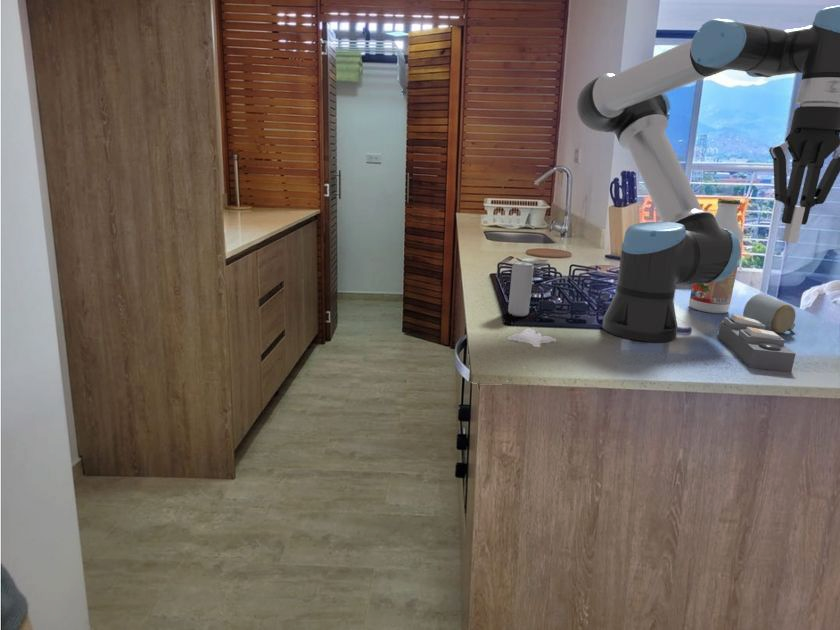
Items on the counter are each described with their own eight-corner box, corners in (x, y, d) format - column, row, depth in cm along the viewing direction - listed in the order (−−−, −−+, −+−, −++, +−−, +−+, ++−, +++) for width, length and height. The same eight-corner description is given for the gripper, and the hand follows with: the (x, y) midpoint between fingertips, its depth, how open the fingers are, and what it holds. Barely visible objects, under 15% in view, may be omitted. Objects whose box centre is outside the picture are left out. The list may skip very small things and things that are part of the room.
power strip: (750, 367, 107) (755, 343, 106) (717, 336, 126) (721, 315, 125) (791, 371, 106) (797, 347, 105) (752, 339, 125) (756, 319, 124)
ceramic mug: (771, 336, 128) (779, 302, 126) (739, 325, 136) (746, 293, 134) (803, 334, 132) (811, 301, 130) (770, 323, 140) (778, 292, 138)
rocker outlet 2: (751, 336, 111) (752, 330, 111) (745, 331, 114) (747, 326, 114) (777, 341, 110) (779, 335, 110) (771, 336, 113) (772, 331, 113)
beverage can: (505, 314, 134) (510, 263, 131) (510, 310, 138) (515, 260, 135) (526, 318, 132) (531, 266, 129) (530, 313, 137) (536, 262, 133)
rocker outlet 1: (735, 322, 120) (737, 317, 120) (730, 318, 123) (732, 313, 123) (758, 328, 119) (761, 323, 119) (753, 324, 122) (755, 319, 122)
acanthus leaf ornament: (506, 342, 116) (507, 333, 116) (523, 335, 121) (523, 326, 121) (541, 350, 112) (542, 341, 111) (556, 343, 117) (557, 334, 116)
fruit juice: (728, 316, 144) (752, 201, 136) (687, 310, 148) (707, 198, 140) (728, 308, 152) (750, 199, 145) (689, 302, 156) (708, 196, 149)
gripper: (788, 103, 98) (758, 241, 105) (874, 106, 96) (838, 247, 103) (771, 106, 105) (744, 236, 112) (850, 109, 103) (818, 241, 110)
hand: (789, 241), depth 107 cm, fingers closed
